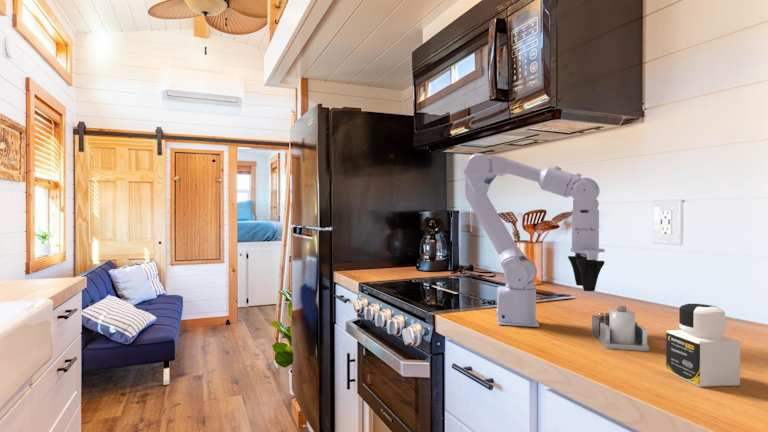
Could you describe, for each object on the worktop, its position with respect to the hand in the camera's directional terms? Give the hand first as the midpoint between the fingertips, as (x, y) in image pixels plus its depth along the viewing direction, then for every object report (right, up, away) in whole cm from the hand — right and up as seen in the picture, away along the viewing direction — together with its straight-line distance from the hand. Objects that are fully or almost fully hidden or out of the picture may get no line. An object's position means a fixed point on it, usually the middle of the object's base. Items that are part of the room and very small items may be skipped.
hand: (585, 288), depth 99 cm
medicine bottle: (+6, -10, -29) cm, 31 cm away
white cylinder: (+2, -9, -11) cm, 15 cm away
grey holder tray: (+3, -10, -8) cm, 13 cm away
